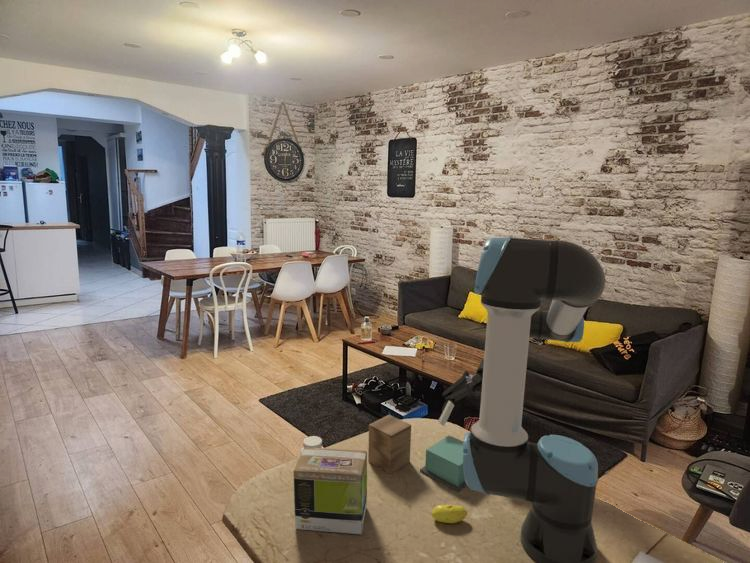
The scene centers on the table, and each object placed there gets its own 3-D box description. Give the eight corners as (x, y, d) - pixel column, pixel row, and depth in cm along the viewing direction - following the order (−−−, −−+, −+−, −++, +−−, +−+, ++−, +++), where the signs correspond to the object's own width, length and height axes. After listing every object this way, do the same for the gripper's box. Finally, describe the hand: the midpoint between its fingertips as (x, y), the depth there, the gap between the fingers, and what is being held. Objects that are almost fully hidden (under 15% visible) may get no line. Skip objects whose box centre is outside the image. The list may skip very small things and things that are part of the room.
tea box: (367, 506, 116) (368, 449, 113) (361, 536, 106) (362, 475, 103) (304, 500, 118) (303, 444, 114) (293, 530, 108) (292, 470, 105)
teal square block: (479, 469, 130) (481, 449, 129) (457, 486, 123) (459, 465, 122) (447, 454, 137) (448, 435, 136) (425, 469, 130) (426, 449, 129)
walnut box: (409, 461, 134) (411, 424, 132) (390, 474, 128) (391, 435, 126) (388, 450, 139) (389, 414, 137) (368, 461, 134) (368, 424, 131)
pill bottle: (317, 469, 130) (317, 431, 127) (329, 481, 125) (329, 442, 122) (296, 478, 126) (295, 438, 124) (308, 490, 121) (307, 450, 119)
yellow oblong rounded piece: (430, 513, 114) (431, 498, 113) (465, 515, 114) (466, 500, 113) (432, 526, 110) (432, 511, 109) (468, 528, 110) (469, 512, 109)
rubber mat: (484, 471, 130) (484, 469, 130) (458, 492, 122) (458, 489, 122) (446, 453, 138) (446, 451, 138) (420, 471, 130) (420, 469, 130)
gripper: (540, 384, 133) (508, 456, 126) (462, 359, 150) (430, 421, 142) (533, 371, 128) (499, 445, 121) (453, 347, 145) (419, 411, 137)
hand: (461, 432), depth 131 cm, fingers open, 13 cm apart
